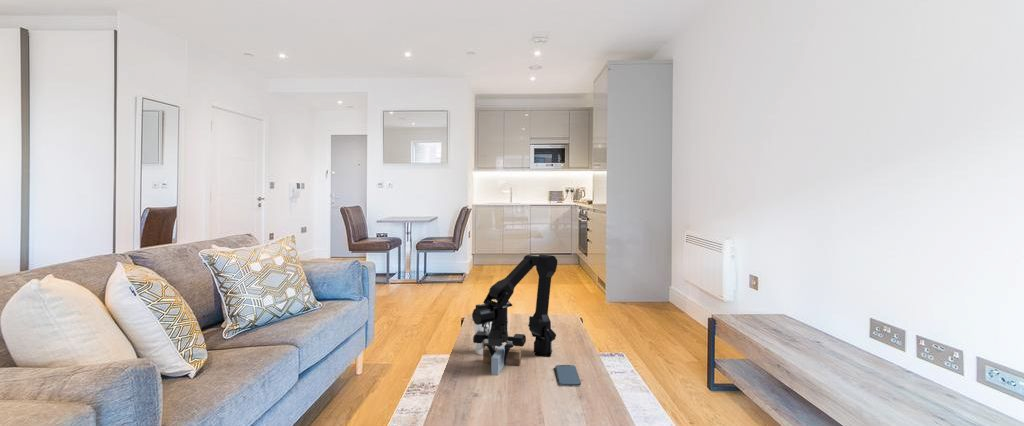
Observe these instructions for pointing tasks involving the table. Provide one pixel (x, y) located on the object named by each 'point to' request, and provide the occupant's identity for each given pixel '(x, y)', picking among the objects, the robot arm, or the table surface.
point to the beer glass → (480, 346)
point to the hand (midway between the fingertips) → (499, 361)
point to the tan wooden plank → (512, 357)
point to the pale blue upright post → (497, 360)
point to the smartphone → (567, 375)
